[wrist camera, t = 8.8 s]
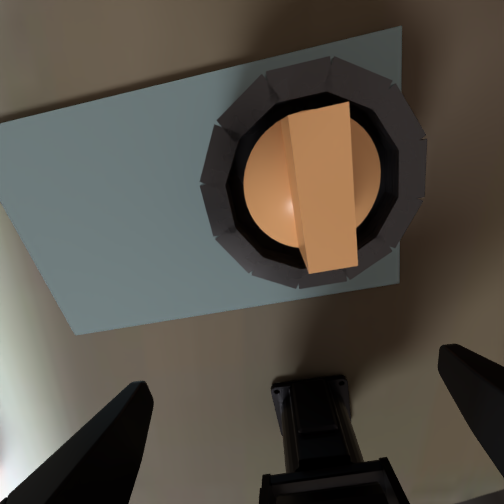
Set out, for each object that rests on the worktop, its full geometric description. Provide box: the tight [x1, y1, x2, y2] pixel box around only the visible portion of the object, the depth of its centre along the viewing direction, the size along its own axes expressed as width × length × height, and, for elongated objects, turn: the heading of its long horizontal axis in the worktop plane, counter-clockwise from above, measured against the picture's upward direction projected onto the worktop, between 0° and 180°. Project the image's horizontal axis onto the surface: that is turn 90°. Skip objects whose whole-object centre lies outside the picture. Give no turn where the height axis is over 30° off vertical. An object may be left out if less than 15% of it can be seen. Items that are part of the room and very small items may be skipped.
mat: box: [0, 26, 402, 335], centre depth 18 cm, size 15×25×1 cm, turn 101°
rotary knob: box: [244, 102, 381, 274], centre depth 12 cm, size 6×6×4 cm
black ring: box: [200, 56, 427, 289], centre depth 15 cm, size 10×10×4 cm
